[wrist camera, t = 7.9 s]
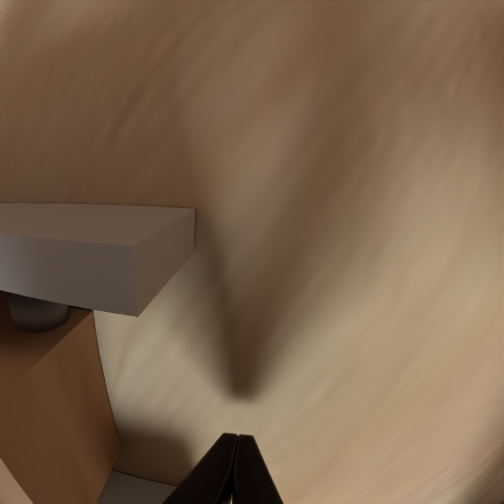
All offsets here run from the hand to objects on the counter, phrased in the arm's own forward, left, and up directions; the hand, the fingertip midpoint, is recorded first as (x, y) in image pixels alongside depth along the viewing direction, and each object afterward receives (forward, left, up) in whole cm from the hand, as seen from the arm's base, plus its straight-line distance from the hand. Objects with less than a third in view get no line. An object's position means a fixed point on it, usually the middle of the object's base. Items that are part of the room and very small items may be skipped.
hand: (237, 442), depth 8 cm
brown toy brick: (+8, 0, -1) cm, 8 cm away
